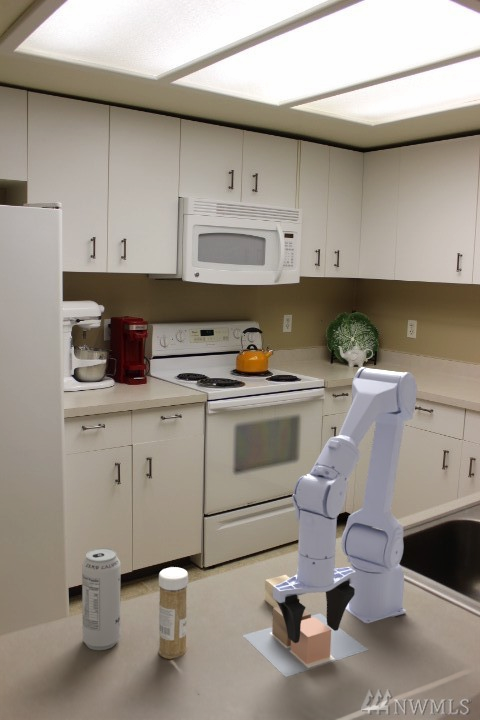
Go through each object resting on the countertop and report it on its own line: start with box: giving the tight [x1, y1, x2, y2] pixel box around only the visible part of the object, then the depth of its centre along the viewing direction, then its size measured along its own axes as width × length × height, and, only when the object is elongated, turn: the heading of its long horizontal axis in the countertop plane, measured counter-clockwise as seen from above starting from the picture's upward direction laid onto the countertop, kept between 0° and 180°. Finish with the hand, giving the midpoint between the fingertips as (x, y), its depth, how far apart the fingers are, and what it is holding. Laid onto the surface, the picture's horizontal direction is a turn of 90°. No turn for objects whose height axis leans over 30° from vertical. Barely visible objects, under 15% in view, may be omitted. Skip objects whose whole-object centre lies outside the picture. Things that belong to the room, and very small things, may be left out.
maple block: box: [264, 574, 300, 608], centre depth 123 cm, size 4×4×4 cm
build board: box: [242, 613, 369, 678], centre depth 110 cm, size 16×13×1 cm
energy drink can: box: [81, 547, 122, 651], centre depth 108 cm, size 6×6×15 cm
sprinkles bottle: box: [158, 566, 189, 660], centre depth 106 cm, size 5×5×13 cm
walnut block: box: [271, 607, 312, 647], centre depth 111 cm, size 4×4×4 cm
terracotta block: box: [290, 617, 331, 664], centre depth 106 cm, size 4×4×4 cm
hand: (313, 633), depth 106 cm, fingers open, 7 cm apart
